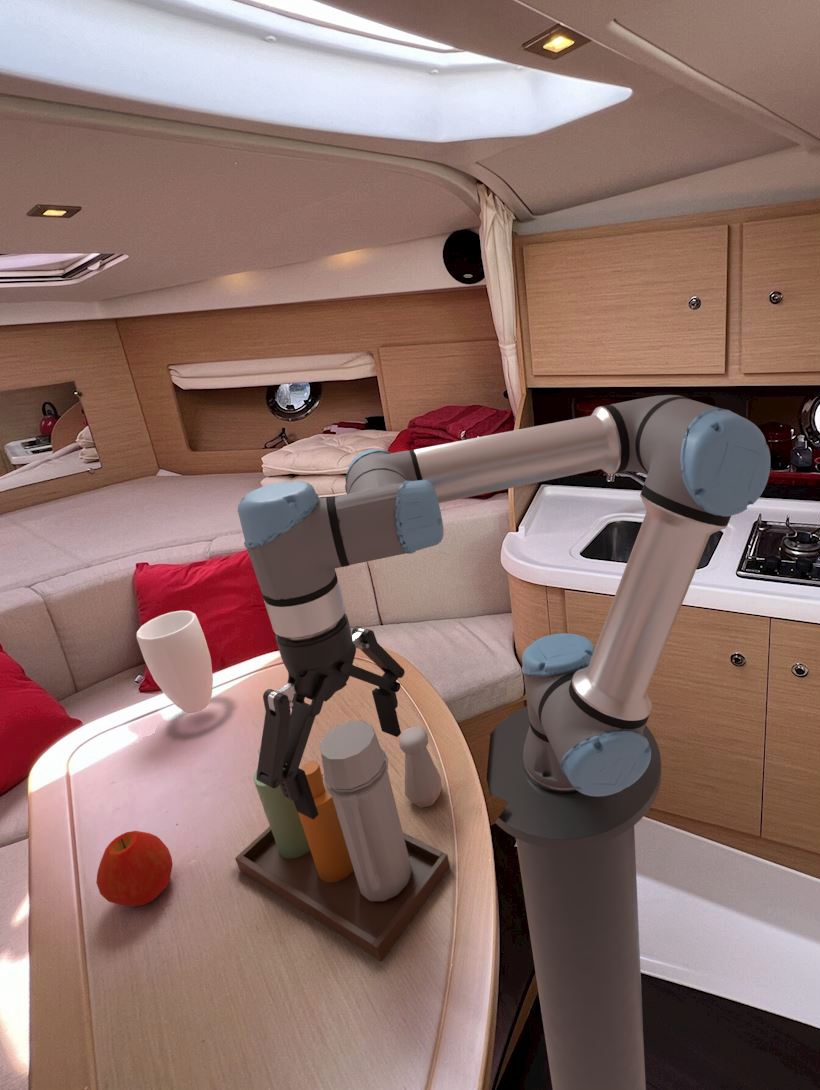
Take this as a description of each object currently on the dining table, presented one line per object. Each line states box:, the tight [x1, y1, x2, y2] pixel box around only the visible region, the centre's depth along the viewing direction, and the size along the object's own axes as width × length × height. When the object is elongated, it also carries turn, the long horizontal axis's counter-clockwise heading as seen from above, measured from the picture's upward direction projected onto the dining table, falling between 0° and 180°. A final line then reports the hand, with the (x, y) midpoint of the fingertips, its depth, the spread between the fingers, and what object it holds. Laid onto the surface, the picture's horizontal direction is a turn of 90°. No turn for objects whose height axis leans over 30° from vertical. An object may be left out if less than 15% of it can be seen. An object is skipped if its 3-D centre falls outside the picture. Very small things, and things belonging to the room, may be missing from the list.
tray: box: [234, 825, 451, 962], centre depth 85 cm, size 28×14×3 cm, turn 61°
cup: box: [136, 610, 214, 714], centre depth 114 cm, size 10×10×22 cm
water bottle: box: [319, 720, 412, 901], centre depth 77 cm, size 9×8×25 cm
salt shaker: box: [398, 725, 443, 809], centre depth 93 cm, size 6×6×13 cm
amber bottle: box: [298, 760, 354, 883], centre depth 82 cm, size 6×6×18 cm
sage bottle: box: [253, 746, 310, 859], centre depth 86 cm, size 6×6×18 cm
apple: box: [95, 830, 173, 907], centre depth 82 cm, size 8×8×11 cm
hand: (352, 769), depth 74 cm, fingers open, 13 cm apart
